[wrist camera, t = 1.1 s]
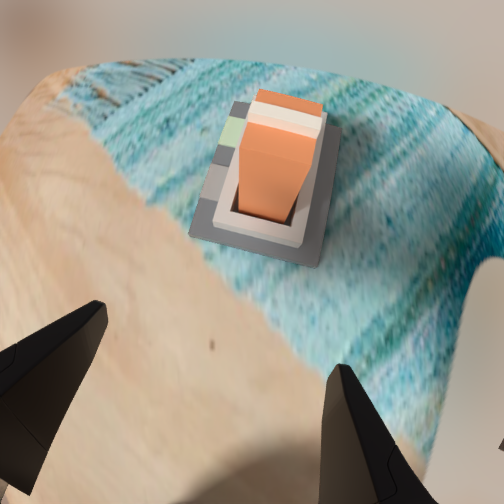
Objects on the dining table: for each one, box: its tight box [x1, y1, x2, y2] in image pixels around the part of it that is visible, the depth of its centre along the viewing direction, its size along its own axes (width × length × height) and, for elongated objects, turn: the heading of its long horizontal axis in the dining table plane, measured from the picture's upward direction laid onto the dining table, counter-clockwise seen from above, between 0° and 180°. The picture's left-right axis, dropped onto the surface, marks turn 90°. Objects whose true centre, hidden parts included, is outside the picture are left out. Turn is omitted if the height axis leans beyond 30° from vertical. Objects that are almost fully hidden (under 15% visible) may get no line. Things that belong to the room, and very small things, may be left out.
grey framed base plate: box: [188, 94, 342, 269], centre depth 24 cm, size 13×10×2 cm
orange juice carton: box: [238, 89, 323, 224], centre depth 19 cm, size 4×4×10 cm
